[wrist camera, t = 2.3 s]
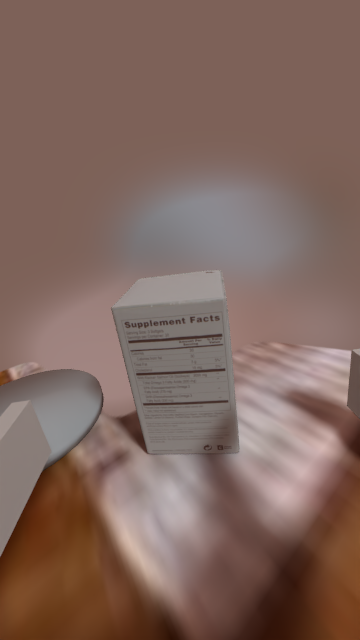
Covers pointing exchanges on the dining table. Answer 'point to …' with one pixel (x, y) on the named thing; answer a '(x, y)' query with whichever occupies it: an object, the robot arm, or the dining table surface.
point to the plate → (58, 405)
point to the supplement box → (180, 362)
